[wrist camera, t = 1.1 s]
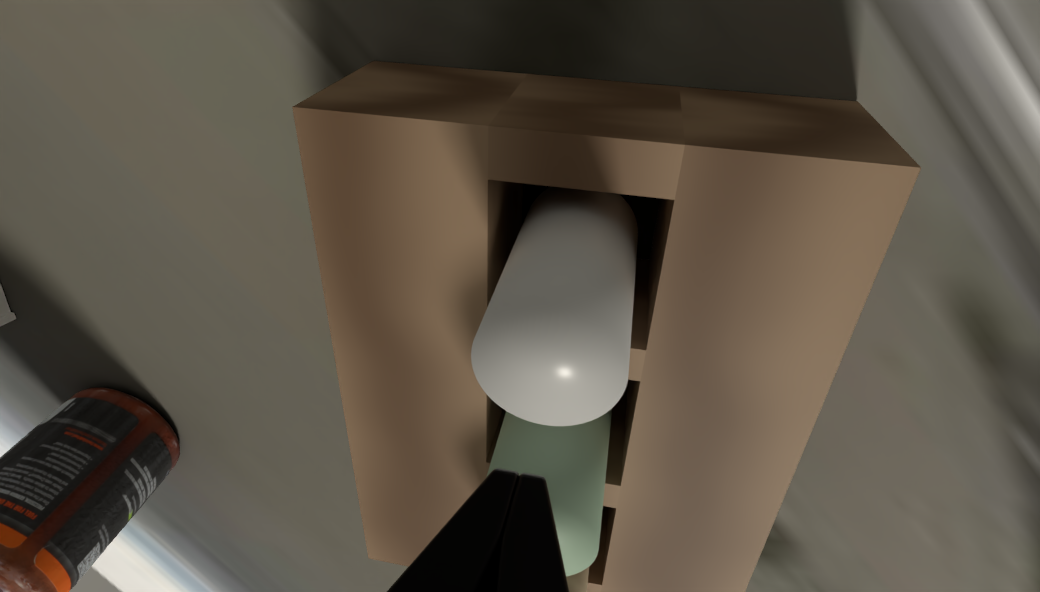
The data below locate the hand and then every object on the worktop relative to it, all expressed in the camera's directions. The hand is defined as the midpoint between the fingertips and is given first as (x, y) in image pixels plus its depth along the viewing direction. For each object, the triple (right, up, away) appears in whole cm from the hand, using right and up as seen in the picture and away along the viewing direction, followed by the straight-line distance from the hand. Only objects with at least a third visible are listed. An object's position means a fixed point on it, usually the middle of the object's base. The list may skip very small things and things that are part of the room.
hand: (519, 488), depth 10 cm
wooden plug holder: (+2, +2, +13) cm, 13 cm away
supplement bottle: (-20, -3, +22) cm, 30 cm away
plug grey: (+2, +5, +7) cm, 9 cm away
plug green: (+2, 0, +10) cm, 11 cm away
